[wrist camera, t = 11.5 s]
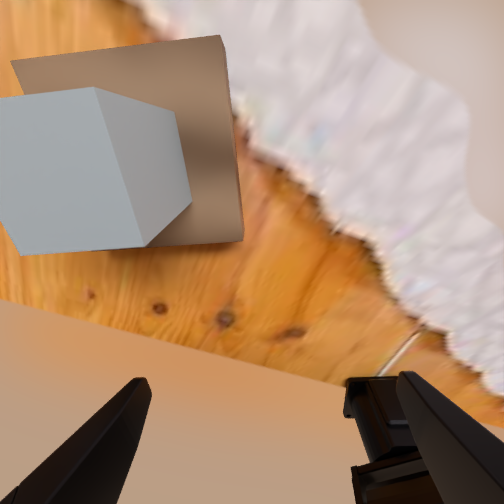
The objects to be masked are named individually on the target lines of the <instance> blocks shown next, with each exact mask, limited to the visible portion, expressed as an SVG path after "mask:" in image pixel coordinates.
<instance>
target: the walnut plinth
mask: <svg viewBox="0 0 504 504" xmlns="http://www.w3.org/2000/svg"><path fill="white" fill-rule="evenodd" d="M10 62H11V64H12V66H13V69H14V71H15V73H16V76H17V78H18V80H19V83H20V85H21V87H22V90H23V92H24V94H25V95H30V94H38V93H46V92H54V91H63V90H71V89H79V88H87V87H96V88H99V89H103V90H106V91H109V92H112V93H115V94H119V95H122V96H125V97H128V98H132V99H135V100H138V101H141V102H144V103H148V104H151V105H154V106H157V107H161V108H164V109H167V110H170V111H173V112H174V113H175V118H176V123H177V128H178V133H179V138H180V143H181V147H182V152H183V157H184V162H185V167H186V172H187V177H188V182H189V187H190V192H191V197H192V202H191V203H190V204H189V205H188V206H187V207H186V208H185V209H184V210H183V211H182V212H181V213H180V214H179V215H178V216H177V217H176V218H174V219H173V220H172V221H171V222H170V223H169V224H168V225H167V226H166V227H165V228H164V229H163V230H162V231H161V232H160V233H159V234H158V235H157V236H155V237H154V238H153V239H152V240H151V241H150V242H149V243H148V244H147V245H146V246H145V247H133V248H120V249H134V248H149V247H164V246H178V245H193V244H207V243H222V242H237V241H243V237H244V221H243V212H242V202H241V193H240V184H239V174H238V165H237V155H236V146H235V137H234V127H233V118H232V108H231V99H230V90H229V80H228V71H227V61H226V52H225V47H224V44H223V42H222V39H221V36H220V35H213V36H205V37H197V38H189V39H181V40H173V41H165V42H157V43H149V44H141V45H133V46H125V47H117V48H109V49H101V50H93V51H85V52H77V53H68V54H60V55H52V56H44V57H36V58H28V59H20V60H12V61H10ZM120 249H106V250H120ZM93 251H105V250H93Z"/></svg>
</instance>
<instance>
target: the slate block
mask: <svg viewBox="0 0 504 504" xmlns="http://www.w3.org/2000/svg"><path fill="white" fill-rule="evenodd" d="M191 202H192V197H191V192H190V187H189V182H188V177H187V172H186V167H185V162H184V157H183V152H182V147H181V143H180V138H179V133H178V128H177V123H176V118H175V113H174V112H173V111H170V110H167V109H164V108H161V107H157V106H154V105H151V104H148V103H144V102H141V101H138V100H135V99H132V98H128V97H125V96H122V95H119V94H115V93H112V92H109V91H106V90H103V89H99V88H96V87H87V88H79V89H71V90H63V91H54V92H46V93H38V94H30V95H22V96H13V97H5V98H0V221H1V223H2V224H3V226H4V228H5V229H6V231H7V233H8V235H9V236H10V238H11V240H12V241H13V243H14V245H15V247H16V248H17V250H18V252H19V253H20V255H21V256H25V255H39V254H52V253H66V252H79V251H93V250H106V249H120V248H133V247H145V246H146V245H147V244H148V243H149V242H150V241H151V240H152V239H153V238H154V237H155V236H157V235H158V234H159V233H160V232H161V231H162V230H163V229H164V228H165V227H166V226H167V225H168V224H169V223H170V222H171V221H172V220H173V219H174V218H176V217H177V216H178V215H179V214H180V213H181V212H182V211H183V210H184V209H185V208H186V207H187V206H188V205H189V204H190V203H191Z"/></svg>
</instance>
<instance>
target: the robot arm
mask: <svg viewBox="0 0 504 504" xmlns="http://www.w3.org/2000/svg"><path fill="white" fill-rule="evenodd" d="M151 397H152V392H151V389H150V387H149V384H148V382H147V379H146V378H144V377H136V378H133V379H132V380H131V381H130V382H129V383H128V384H126V386H124V387H123V388H122V389H121V390H120V391H119V392H118V393H117V394H116V395H115V396H114V397H113V398H111V399H110V400H109V401H108V402H107V403H106V404H105V405H104V406H103V407H102V408H101V409H99V410H98V411H97V412H96V413H95V414H94V415H93V416H92V417H91V418H90V419H89V420H88V421H87V422H86V423H84V424H83V425H82V426H81V427H80V428H79V429H78V430H77V431H76V432H75V433H74V434H73V435H71V436H70V437H69V438H68V439H67V440H66V441H65V442H64V443H63V444H62V445H61V446H60V447H59V448H57V449H56V450H55V451H54V452H53V453H52V454H51V455H50V456H49V457H48V458H47V459H46V460H45V461H44V462H42V463H41V464H40V465H39V466H38V467H37V468H36V469H35V470H34V471H33V472H32V473H31V474H30V475H28V476H27V477H26V478H25V479H24V480H23V481H22V482H21V483H20V485H19V486H17V487H16V488H14V489H13V490H12V491H11V492H10V493H9V494H8V495H7V496H6V497H5V498H4V499H2V500H1V501H0V504H117V501H118V499H119V496H120V493H121V490H122V488H123V485H124V482H125V479H126V477H127V474H128V472H129V469H130V466H131V464H132V461H133V458H134V456H135V453H136V450H137V447H138V444H139V440H140V437H141V434H142V430H143V426H144V423H145V419H146V415H147V412H148V408H149V405H150V401H151ZM343 414H344V417H345V418H355V420H356V423H357V426H358V429H359V432H360V435H361V438H362V441H363V444H364V447H365V450H366V453H367V456H368V458H369V461H370V463H368V464H365V465H361V466H358V467H357V466H352V467H351V472H352V483H353V489H354V495H355V501H356V504H504V442H502V441H501V440H500V439H499V438H497V437H496V436H495V435H494V434H492V433H491V432H490V431H489V430H487V429H486V428H485V427H483V426H482V425H481V424H480V423H478V422H477V421H476V420H475V419H473V418H472V417H471V416H470V415H468V414H467V413H466V412H465V411H463V410H462V409H461V408H460V407H458V406H457V405H456V404H455V403H453V402H452V401H451V400H450V399H448V398H447V397H446V396H445V395H443V394H442V393H441V392H440V391H438V390H437V389H436V388H434V387H433V386H432V385H431V384H429V383H428V382H427V381H426V380H424V379H423V378H422V377H421V376H419V375H418V374H417V373H415V372H414V371H401V372H400V373H399V376H398V377H370V378H350V379H349V380H348V381H347V387H346V394H345V402H344V409H343Z"/></svg>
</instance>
